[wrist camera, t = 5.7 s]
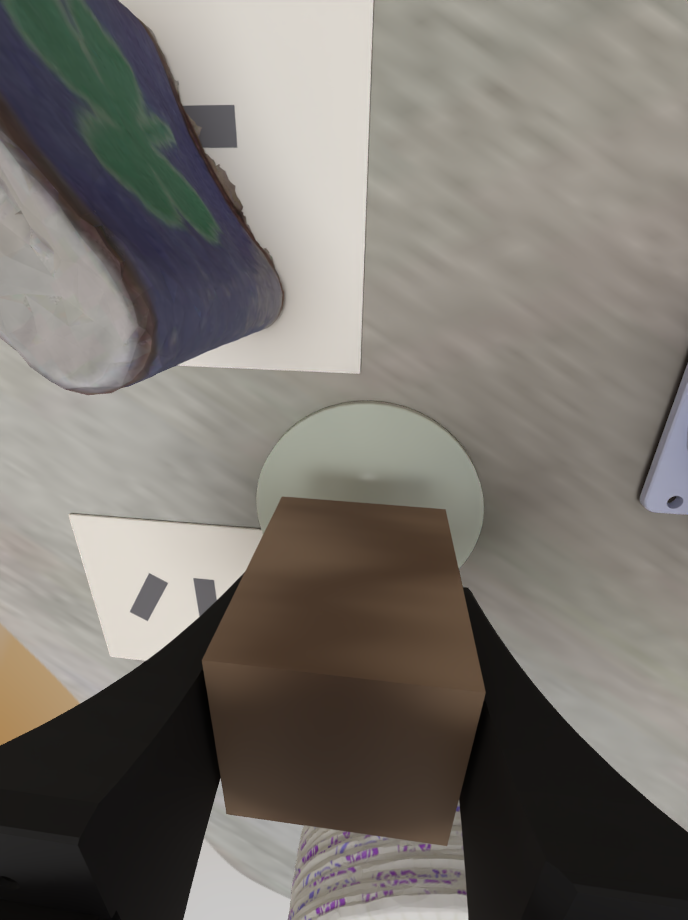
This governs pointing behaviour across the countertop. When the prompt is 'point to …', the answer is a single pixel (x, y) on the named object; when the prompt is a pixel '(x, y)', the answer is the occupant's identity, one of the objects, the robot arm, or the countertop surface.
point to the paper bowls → (378, 877)
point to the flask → (113, 206)
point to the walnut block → (347, 673)
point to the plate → (375, 466)
